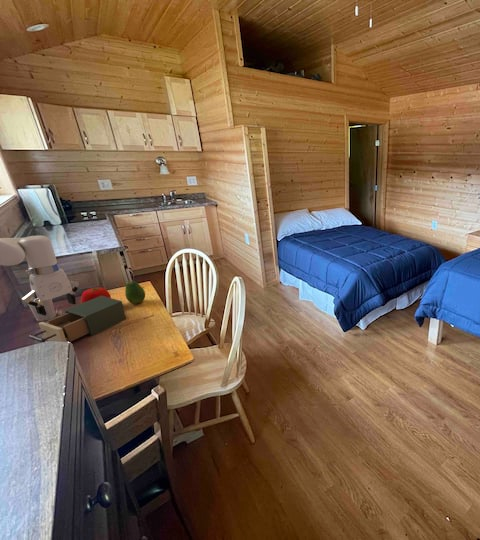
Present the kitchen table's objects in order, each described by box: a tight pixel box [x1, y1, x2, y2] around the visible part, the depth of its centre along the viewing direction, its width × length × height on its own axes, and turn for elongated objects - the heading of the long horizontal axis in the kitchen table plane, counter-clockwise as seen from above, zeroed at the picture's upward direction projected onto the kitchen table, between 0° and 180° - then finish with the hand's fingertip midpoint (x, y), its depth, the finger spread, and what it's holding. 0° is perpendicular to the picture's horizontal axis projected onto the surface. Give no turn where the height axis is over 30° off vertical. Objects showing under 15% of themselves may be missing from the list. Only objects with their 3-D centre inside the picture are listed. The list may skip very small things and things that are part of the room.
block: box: [57, 321, 72, 338], centre depth 122 cm, size 4×4×4 cm
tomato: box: [80, 286, 112, 303], centre depth 143 cm, size 10×11×11 cm
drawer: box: [28, 313, 90, 343], centre depth 121 cm, size 18×11×8 cm, turn 162°
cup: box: [27, 296, 57, 322], centre depth 132 cm, size 8×8×12 cm
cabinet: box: [64, 296, 127, 337], centre depth 132 cm, size 15×13×10 cm
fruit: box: [124, 280, 146, 305], centre depth 150 cm, size 8×8×12 cm
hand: (58, 308), depth 118 cm, fingers open, 9 cm apart
